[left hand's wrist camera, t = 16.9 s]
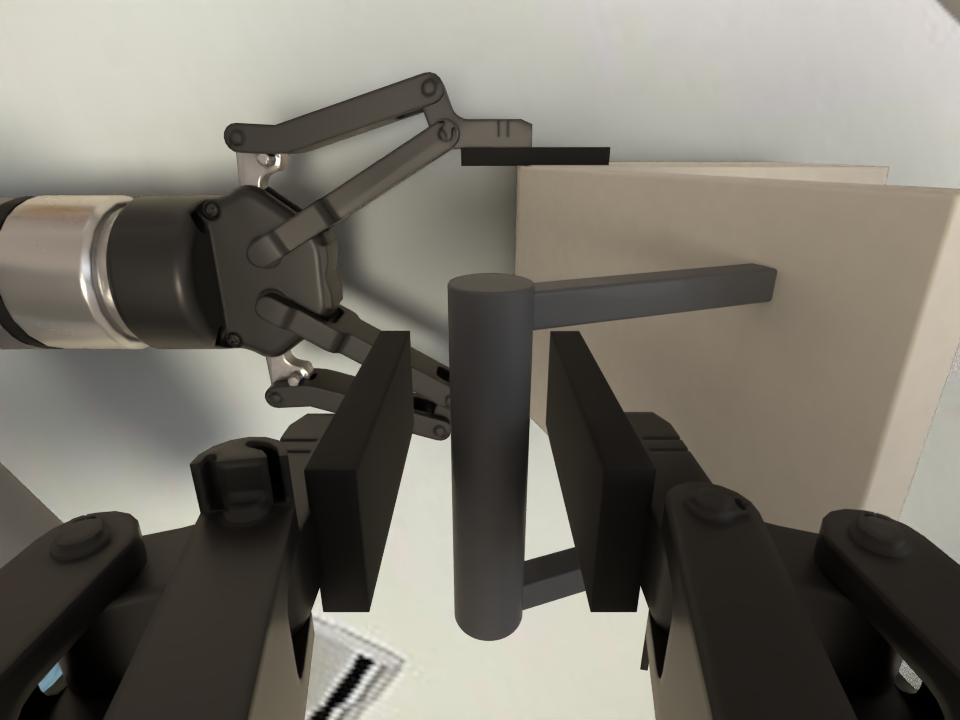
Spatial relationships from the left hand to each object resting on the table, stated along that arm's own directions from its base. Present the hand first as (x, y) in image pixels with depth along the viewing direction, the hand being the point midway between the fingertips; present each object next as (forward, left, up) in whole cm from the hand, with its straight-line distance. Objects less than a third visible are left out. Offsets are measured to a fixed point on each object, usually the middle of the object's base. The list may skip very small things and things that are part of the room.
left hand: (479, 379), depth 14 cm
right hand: (-5, -3, -13) cm, 15 cm away
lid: (-5, -3, -3) cm, 6 cm away
